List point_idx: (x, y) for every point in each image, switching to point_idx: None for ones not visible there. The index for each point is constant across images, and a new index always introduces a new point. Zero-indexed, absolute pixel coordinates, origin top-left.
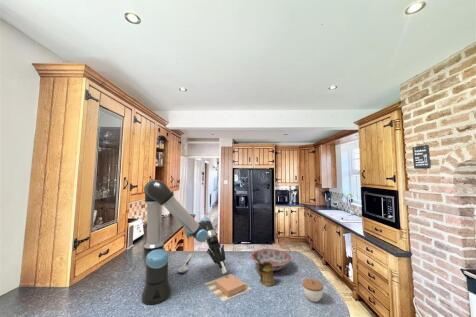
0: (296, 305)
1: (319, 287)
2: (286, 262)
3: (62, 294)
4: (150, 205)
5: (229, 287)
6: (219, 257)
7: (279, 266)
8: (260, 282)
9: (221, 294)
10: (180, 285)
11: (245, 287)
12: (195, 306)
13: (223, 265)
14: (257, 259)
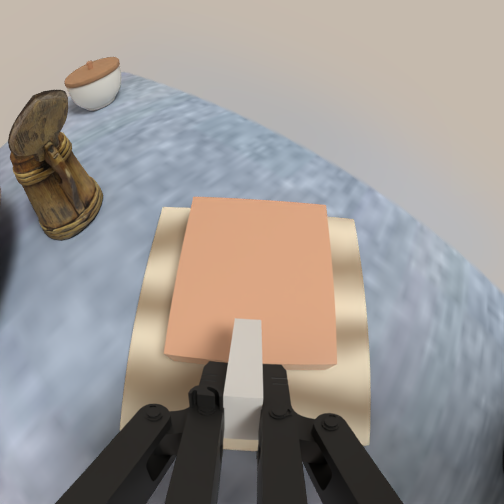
0: (153, 100)
1: (104, 58)
2: None
3: None
4: None
5: (298, 225)
6: (216, 494)
7: None
8: (92, 217)
9: (335, 267)
10: (459, 491)
11: (179, 231)
12: (455, 282)
13: (241, 358)
14: (66, 95)
